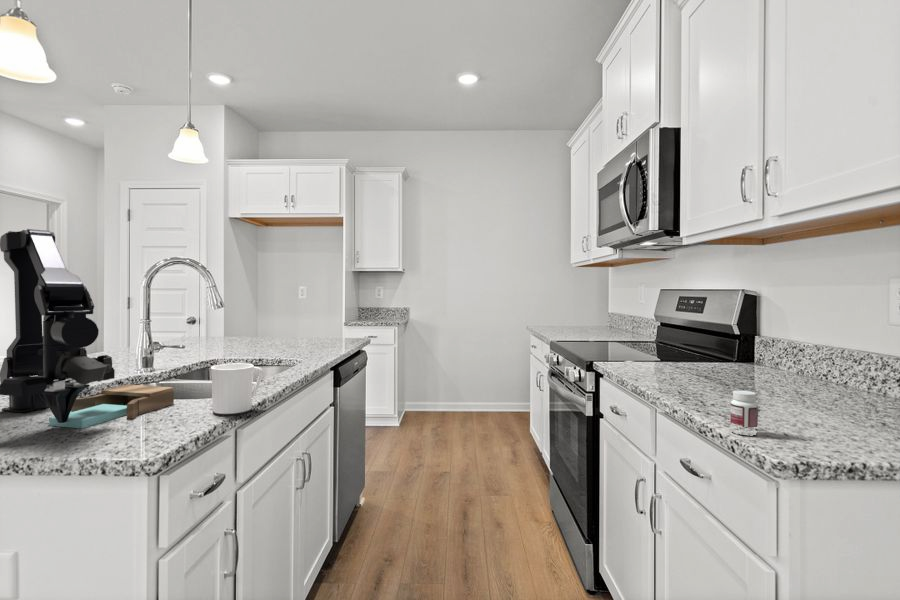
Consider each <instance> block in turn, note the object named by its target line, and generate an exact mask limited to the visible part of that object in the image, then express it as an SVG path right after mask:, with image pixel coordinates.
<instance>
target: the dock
mask: <svg viewBox="0 0 900 600" xmlns="http://www.w3.org/2000/svg"><path fill="white" fill-rule="evenodd" d="M174 394H175V389H174V387H172V386H159V385H157V386H155V385H141V384H139V385H138V384H124V385H119V386H115V387H110V388H105V389H101V393H99V394H96V395H90V396H88V397H87V396H86V397H79V398H78V397H77V398H76V400H75V402H74V405H73V407H72V409H71V412H74V411H78V410H82V409H86V408H90V407H94V406H97V405H101V404H111V405H124V404H126V406H127V415H126V420H133V419H135V418H136V417H137V416H139V415H142V414H146V413H149V412H154V411H155V410H159V409H162V408H165V407H169V406H172V405H174V403H175V401H174V399H175V397H174V396H175V395H174Z"/></svg>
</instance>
